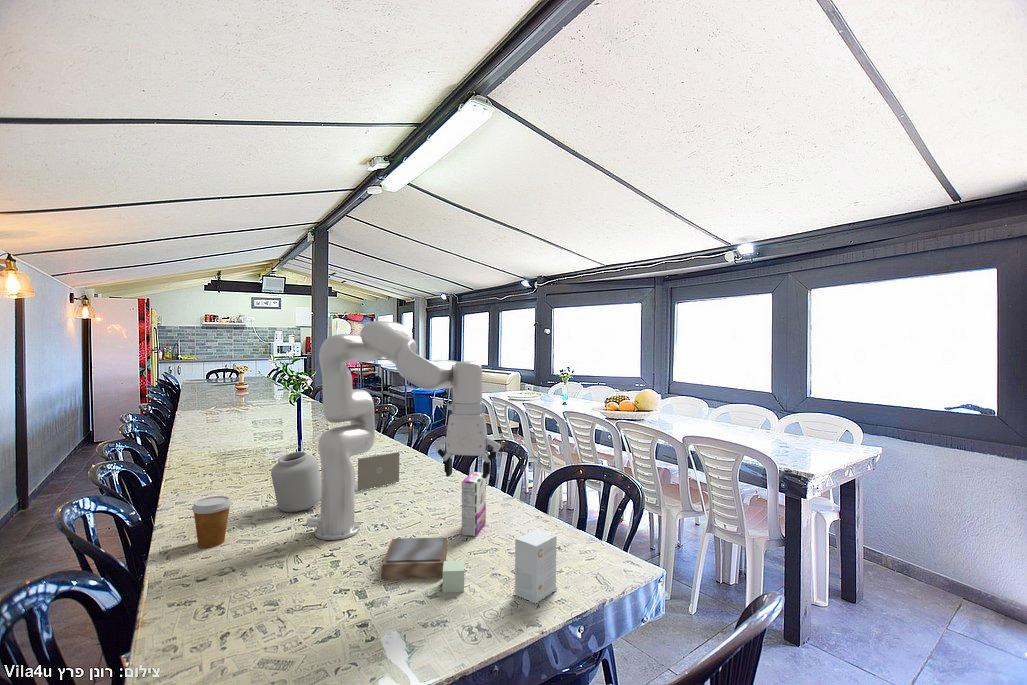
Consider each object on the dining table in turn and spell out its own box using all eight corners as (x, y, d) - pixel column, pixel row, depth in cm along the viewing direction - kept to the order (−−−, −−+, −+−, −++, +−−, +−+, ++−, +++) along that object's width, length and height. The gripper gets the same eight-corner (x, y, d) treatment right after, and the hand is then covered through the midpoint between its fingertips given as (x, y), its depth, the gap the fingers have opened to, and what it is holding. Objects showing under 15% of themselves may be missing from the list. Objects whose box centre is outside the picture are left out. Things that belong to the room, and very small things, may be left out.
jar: (277, 522, 148) (279, 443, 149) (255, 511, 157) (257, 437, 157) (331, 506, 164) (333, 434, 164) (309, 497, 172) (310, 429, 173)
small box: (535, 581, 114) (536, 528, 114) (556, 590, 110) (557, 535, 110) (513, 594, 108) (514, 538, 108) (535, 605, 104) (536, 546, 104)
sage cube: (442, 592, 108) (442, 571, 108) (443, 581, 113) (443, 561, 113) (464, 592, 109) (464, 570, 109) (464, 581, 114) (464, 560, 114)
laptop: (384, 477, 201) (384, 446, 201) (399, 483, 192) (399, 452, 192) (343, 485, 188) (344, 453, 188) (357, 492, 179) (358, 458, 179)
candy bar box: (471, 522, 151) (471, 471, 151) (486, 523, 150) (486, 472, 150) (460, 535, 140) (461, 480, 140) (476, 537, 139) (477, 482, 139)
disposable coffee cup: (226, 533, 139) (226, 493, 139) (235, 543, 132) (235, 501, 132) (187, 542, 132) (188, 500, 132) (194, 553, 126) (195, 509, 126)
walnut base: (381, 579, 114) (382, 562, 114) (391, 551, 129) (392, 537, 129) (444, 577, 115) (444, 561, 115) (446, 550, 130) (447, 536, 130)
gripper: (430, 410, 118) (430, 478, 118) (497, 412, 115) (497, 481, 115) (439, 406, 126) (439, 470, 125) (503, 408, 123) (502, 473, 123)
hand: (467, 476), depth 120 cm, fingers open, 9 cm apart
